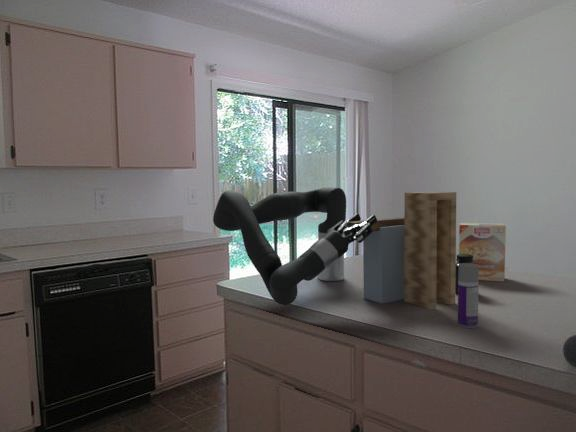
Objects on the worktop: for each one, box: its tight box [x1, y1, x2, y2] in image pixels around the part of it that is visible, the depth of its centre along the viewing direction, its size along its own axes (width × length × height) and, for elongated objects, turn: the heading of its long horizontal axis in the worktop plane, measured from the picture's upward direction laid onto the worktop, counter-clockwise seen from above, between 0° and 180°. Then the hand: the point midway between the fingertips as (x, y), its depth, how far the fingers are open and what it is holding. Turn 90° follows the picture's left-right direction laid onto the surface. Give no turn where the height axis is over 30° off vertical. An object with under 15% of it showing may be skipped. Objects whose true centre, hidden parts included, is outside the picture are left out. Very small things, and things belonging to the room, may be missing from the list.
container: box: [457, 263, 480, 329], centre depth 111 cm, size 5×5×15 cm
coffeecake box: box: [458, 222, 507, 282], centre depth 161 cm, size 15×7×20 cm, turn 68°
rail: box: [347, 216, 405, 232], centre depth 135 cm, size 4×24×3 cm, turn 122°
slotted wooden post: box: [403, 191, 457, 310], centre depth 131 cm, size 10×10×32 cm
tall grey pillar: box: [362, 225, 405, 305], centre depth 137 cm, size 8×10×22 cm
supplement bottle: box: [455, 253, 473, 295], centre depth 141 cm, size 7×7×12 cm
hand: (366, 216), depth 132 cm, fingers open, 6 cm apart
